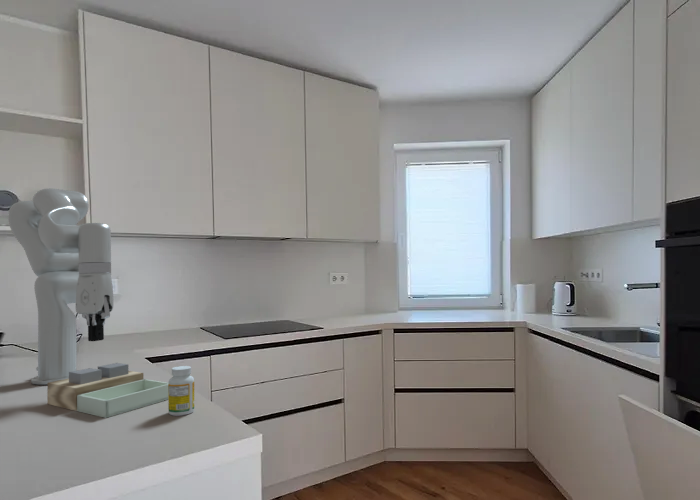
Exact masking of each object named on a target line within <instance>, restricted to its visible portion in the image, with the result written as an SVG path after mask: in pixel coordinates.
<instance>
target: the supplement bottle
mask: <svg viewBox="0 0 700 500" xmlns="http://www.w3.org/2000/svg"><path fill="white" fill-rule="evenodd" d="M191 373H192V367H191V366H190V365H180V366H173V367H172V368H171V376H172V377H170V379H169V380H168V382H167V383H168V400H167V401H168V402H167V403H168V408H167V409H168V415H170V416H172V417H173V416H175V417H178V416H180V417H181V416H187V415H190V414H191V413H193V412H194V411H195V378H194V376H192V375H191Z"/></svg>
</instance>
